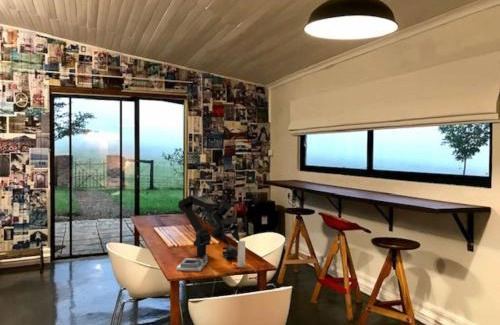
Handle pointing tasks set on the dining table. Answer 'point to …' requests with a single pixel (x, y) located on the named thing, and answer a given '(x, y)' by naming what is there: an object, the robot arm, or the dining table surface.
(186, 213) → the robot arm
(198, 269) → the jig
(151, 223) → the dining table surface
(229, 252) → the end cap
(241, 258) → the white tapered cylinder
